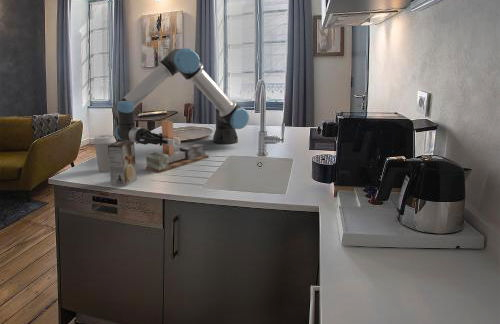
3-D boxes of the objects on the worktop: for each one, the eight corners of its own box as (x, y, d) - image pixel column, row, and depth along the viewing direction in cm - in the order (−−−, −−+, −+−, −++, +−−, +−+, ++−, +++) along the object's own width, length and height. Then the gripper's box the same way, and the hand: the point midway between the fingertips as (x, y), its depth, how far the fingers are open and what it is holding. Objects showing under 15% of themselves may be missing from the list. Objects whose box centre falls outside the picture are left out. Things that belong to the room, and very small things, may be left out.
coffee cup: (108, 166, 172) (105, 133, 168) (123, 169, 167) (120, 136, 163) (90, 171, 164) (87, 137, 160) (105, 174, 159) (102, 140, 155)
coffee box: (122, 178, 155) (119, 140, 151) (137, 179, 154) (134, 141, 149) (110, 185, 146) (107, 145, 142) (125, 186, 145) (122, 146, 141)
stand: (195, 155, 194) (194, 142, 193) (208, 157, 190) (208, 144, 188) (145, 169, 168) (144, 154, 166) (159, 172, 163) (158, 157, 161)
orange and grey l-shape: (185, 155, 184) (184, 117, 180) (191, 156, 182) (190, 118, 177) (154, 164, 168) (152, 122, 163) (160, 165, 166) (158, 123, 161)
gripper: (154, 140, 187) (189, 147, 175) (127, 146, 174) (163, 153, 162) (153, 125, 185) (188, 131, 173) (126, 130, 172) (163, 136, 160)
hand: (176, 142), depth 167 cm, fingers closed on orange and grey l-shape, 3 cm apart
